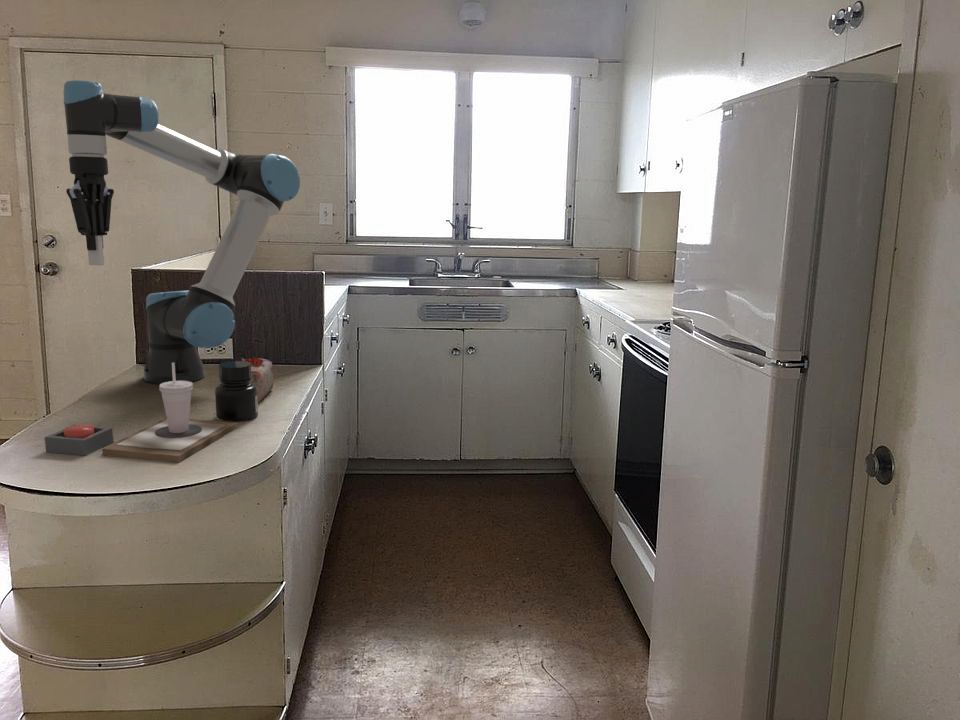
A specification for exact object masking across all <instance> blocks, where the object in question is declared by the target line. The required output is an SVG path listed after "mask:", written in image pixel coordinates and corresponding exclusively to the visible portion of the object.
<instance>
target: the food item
mask: <svg viewBox="0 0 960 720" xmlns="http://www.w3.org/2000/svg"><path fill="white" fill-rule="evenodd" d="M241 361H244V362H249V363H251V378H252V379H251V381H250V382H252V384H253V385H255V386H256V388H257V398H258V403H261V402H262V401H263V399H264V398H265V397H266V396H267V395H268V394H269V393H270V391H271V390H273V388H274V369H273V367H274V366H273V362H272V361H270V359H265V358H260V357H259V358H258V357H256V356H253V357H251V358H247V359H245V357H242V358H241Z"/></svg>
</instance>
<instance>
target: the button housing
mask: <svg viewBox="0 0 960 720" xmlns="http://www.w3.org/2000/svg"><path fill="white" fill-rule="evenodd" d="M73 425H74V424H72V425H71V426H73ZM93 426H94V434H92V435H90V436H87V437H85V438H72V437H64V429H65V428H63V429H60V430H58V431H56V432H53V433H51V434H48V435H46V436H44V443H45V452H46V453H52V454H53V453H54V454H65V455H74V456H87V455H89V454H90V455H91V454H92V453H94V452H96V451H98V450H100V449H103V448H105V447H107V446H109V445H111V444H113V443H114V433H113V427H107V426H97V425H96V426H95V425H93Z"/></svg>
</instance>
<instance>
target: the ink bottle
mask: <svg viewBox="0 0 960 720" xmlns="http://www.w3.org/2000/svg"><path fill="white" fill-rule="evenodd" d="M218 371H219V382H220V383H219V385H218V386H217V387H216V388H215V391H214V393H215V395H214V397H215V399H214V400H215V414H216V415H215V416H216V418H217V419H218V420H219V421H220V420H221V421H223V422H242V421H243V422H245V421H248V420H252V419H254V418H256V417H257V416H258V414H259V407H258V406H259V402H258V398H257V388H256V386H255V385H253V384H252V382H250V381H251V379H252V378H251V363H249V362H244V361H242V360H241V361H240V360H237V361H235V360H233V361H225V362H222V363H219V365H218Z"/></svg>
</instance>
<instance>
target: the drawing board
mask: <svg viewBox="0 0 960 720" xmlns="http://www.w3.org/2000/svg"><path fill="white" fill-rule="evenodd" d="M237 427H238V426H237V422H233V421H220V420H219V421H218V420H206V419H205V420H204V419H193V418H189V430H188V431H186V432H182V433H171V432H169V427H168V423H167V418H164V419H161V420H159V421H157V422H155V423H153V424H151V425H149V426H147V427H145V428H143V429H141V430H138V431H137V432H135V433H134V432H133V433H132V434H130V435H128V436H126V437H123V438H121V439H120V440H118V441H116V442H115V441H114V442H113V443H111V444H109V445H107V446H104V447H102V448H101V449H102V455H103V456H108V457H109V456H110V457H111V456H112V457H123V458H132V459H134V458H135V459H143V460H155V461H166V462H176V463H181V462H183V461H184V460H186V459H187V458H189V457H190V456H193V455H194V454H196V453H197V452H199V451H201V450H203V449H204V448H206V447H208V446H210V445H211V444H212V443H214V442H216V441H218V440H219V439H221V438H223V437H224V436H226V435H228V434H230V433H231V432H233V431H234V430H236V429H237Z"/></svg>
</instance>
